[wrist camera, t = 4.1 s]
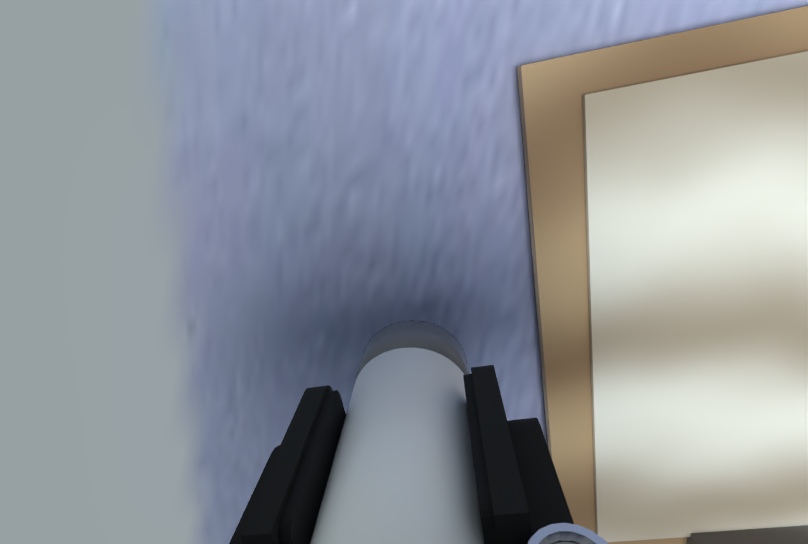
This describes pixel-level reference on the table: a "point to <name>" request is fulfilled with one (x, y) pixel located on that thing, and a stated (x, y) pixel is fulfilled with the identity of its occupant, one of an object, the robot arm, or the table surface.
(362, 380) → the marker
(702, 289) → the clipboard
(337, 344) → the table surface
